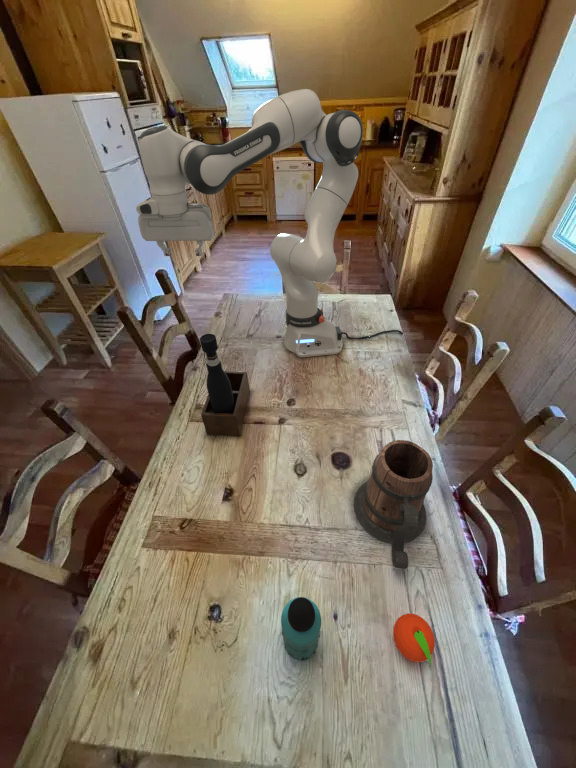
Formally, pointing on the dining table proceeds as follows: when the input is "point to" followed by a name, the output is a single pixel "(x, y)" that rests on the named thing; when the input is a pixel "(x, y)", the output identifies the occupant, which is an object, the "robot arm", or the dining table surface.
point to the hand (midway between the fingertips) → (183, 255)
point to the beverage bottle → (301, 628)
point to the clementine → (414, 638)
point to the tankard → (396, 497)
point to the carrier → (224, 421)
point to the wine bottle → (217, 378)
